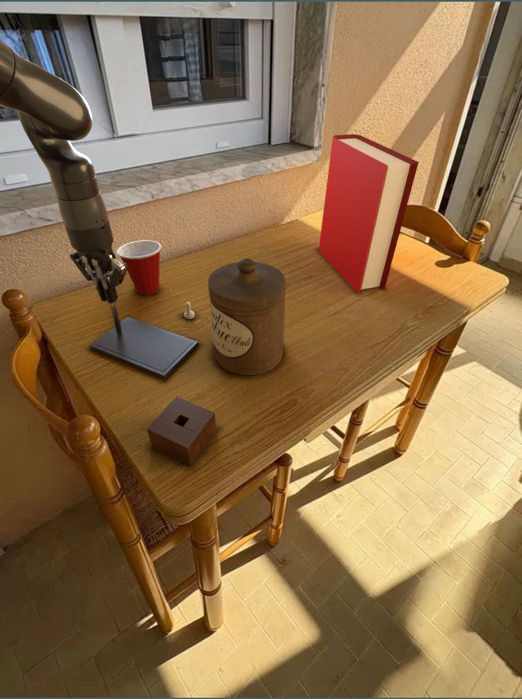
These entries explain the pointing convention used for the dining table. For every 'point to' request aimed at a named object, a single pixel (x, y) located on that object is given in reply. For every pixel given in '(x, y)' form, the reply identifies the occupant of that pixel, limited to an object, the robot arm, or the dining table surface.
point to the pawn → (189, 311)
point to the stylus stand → (182, 430)
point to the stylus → (115, 316)
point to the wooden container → (247, 316)
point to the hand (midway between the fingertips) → (109, 300)
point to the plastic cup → (142, 264)
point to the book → (364, 208)
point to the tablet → (145, 347)
